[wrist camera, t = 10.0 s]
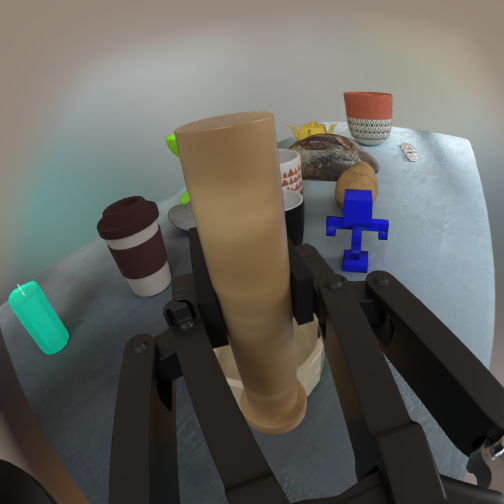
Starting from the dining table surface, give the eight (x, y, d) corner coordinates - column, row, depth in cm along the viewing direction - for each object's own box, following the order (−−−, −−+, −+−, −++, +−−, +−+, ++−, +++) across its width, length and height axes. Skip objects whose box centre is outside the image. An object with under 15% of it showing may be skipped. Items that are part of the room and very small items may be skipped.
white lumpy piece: (405, 160, 86) (405, 158, 86) (398, 142, 107) (398, 140, 107) (421, 162, 84) (421, 160, 84) (412, 143, 105) (412, 142, 105)
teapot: (338, 145, 109) (337, 121, 104) (311, 151, 105) (309, 126, 100) (316, 139, 121) (314, 118, 115) (289, 145, 116) (287, 123, 111)
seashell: (164, 229, 66) (179, 238, 58) (160, 205, 64) (175, 211, 56) (209, 217, 72) (230, 225, 64) (206, 195, 70) (227, 199, 62)
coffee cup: (147, 311, 43) (110, 226, 35) (116, 291, 48) (83, 216, 40) (191, 276, 49) (166, 193, 41) (156, 261, 55) (132, 189, 47)
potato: (325, 220, 59) (324, 177, 54) (348, 193, 69) (347, 156, 64) (366, 228, 54) (368, 183, 49) (382, 198, 64) (383, 160, 59)
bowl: (246, 438, 25) (235, 414, 22) (189, 356, 35) (174, 324, 32) (347, 368, 30) (352, 334, 27) (276, 308, 40) (272, 274, 37)
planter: (345, 149, 104) (341, 94, 92) (348, 138, 118) (345, 91, 107) (395, 151, 96) (394, 96, 85) (391, 140, 111) (390, 93, 100)
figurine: (387, 266, 44) (395, 197, 37) (353, 285, 42) (357, 211, 35) (356, 246, 50) (358, 181, 43) (322, 261, 48) (321, 192, 41)
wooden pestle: (266, 446, 16) (180, 142, 6) (231, 402, 19) (142, 134, 10) (319, 410, 18) (322, 111, 8) (282, 372, 21) (246, 108, 11)
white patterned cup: (238, 206, 70) (230, 155, 64) (294, 195, 71) (289, 145, 64) (247, 232, 59) (236, 171, 52) (313, 220, 60) (309, 159, 53)
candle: (36, 352, 37) (-3, 296, 30) (52, 327, 42) (18, 272, 35) (59, 357, 36) (16, 298, 29) (74, 330, 41) (39, 271, 34)
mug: (262, 239, 56) (254, 189, 51) (309, 241, 53) (306, 188, 48) (242, 279, 47) (231, 222, 41) (299, 283, 44) (295, 223, 38)
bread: (293, 153, 105) (290, 127, 100) (381, 158, 91) (381, 130, 85) (263, 177, 85) (258, 145, 80) (375, 185, 71) (376, 148, 66)
